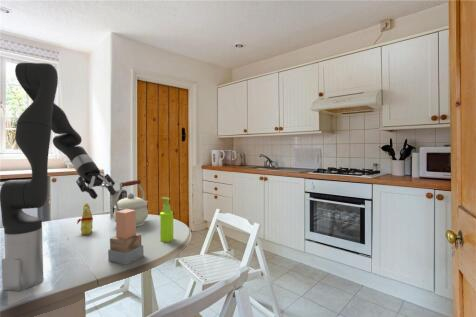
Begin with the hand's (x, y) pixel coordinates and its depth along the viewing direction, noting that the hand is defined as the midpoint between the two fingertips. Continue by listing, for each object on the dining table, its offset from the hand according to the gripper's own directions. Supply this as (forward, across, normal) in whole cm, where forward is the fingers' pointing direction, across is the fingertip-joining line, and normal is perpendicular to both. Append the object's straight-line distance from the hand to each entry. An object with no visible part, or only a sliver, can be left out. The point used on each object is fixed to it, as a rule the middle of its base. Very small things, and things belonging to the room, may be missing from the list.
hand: (105, 195), depth 105 cm
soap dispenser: (+26, +22, +8) cm, 35 cm away
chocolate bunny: (-6, +14, +40) cm, 43 cm away
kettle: (+2, +36, +32) cm, 48 cm away
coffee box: (-14, +45, +48) cm, 67 cm away
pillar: (+19, 0, +2) cm, 19 cm away
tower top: (+22, 0, +6) cm, 23 cm away
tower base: (+25, 0, +9) cm, 27 cm away
